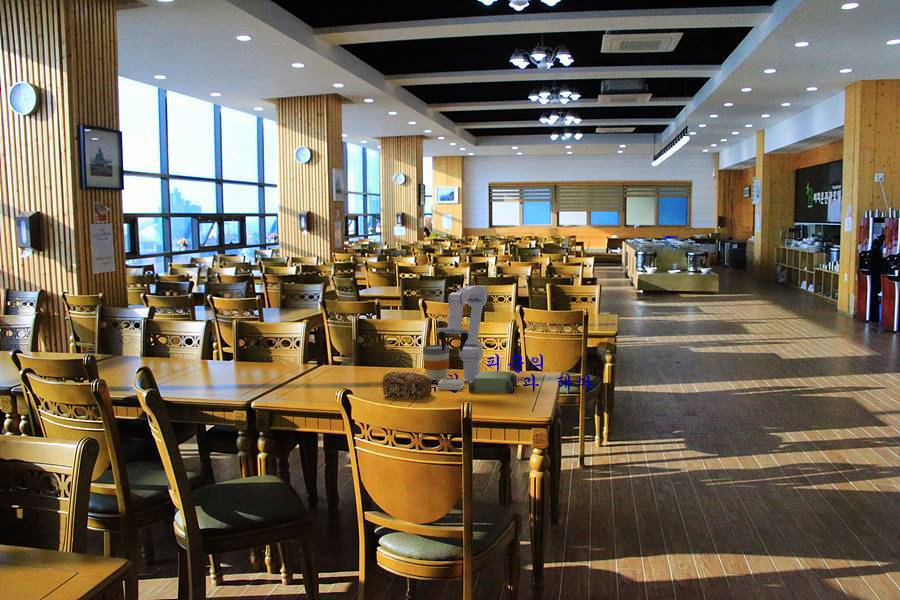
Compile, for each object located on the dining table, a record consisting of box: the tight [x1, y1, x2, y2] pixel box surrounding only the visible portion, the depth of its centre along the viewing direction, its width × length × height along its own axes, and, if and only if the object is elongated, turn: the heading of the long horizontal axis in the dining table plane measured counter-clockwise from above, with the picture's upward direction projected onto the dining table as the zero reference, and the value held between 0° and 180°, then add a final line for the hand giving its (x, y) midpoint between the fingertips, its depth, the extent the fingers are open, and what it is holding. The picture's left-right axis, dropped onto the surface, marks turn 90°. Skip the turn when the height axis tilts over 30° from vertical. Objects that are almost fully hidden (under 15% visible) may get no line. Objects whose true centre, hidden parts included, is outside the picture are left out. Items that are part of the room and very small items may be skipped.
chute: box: [437, 379, 465, 391], centre depth 332 cm, size 7×10×3 cm
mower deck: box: [468, 371, 518, 393], centre depth 328 cm, size 18×18×6 cm
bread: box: [381, 371, 433, 400], centre depth 321 cm, size 19×11×10 cm, turn 60°
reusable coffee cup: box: [422, 344, 451, 381], centre depth 354 cm, size 13×13×15 cm
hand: (452, 350), depth 324 cm, fingers open, 7 cm apart
